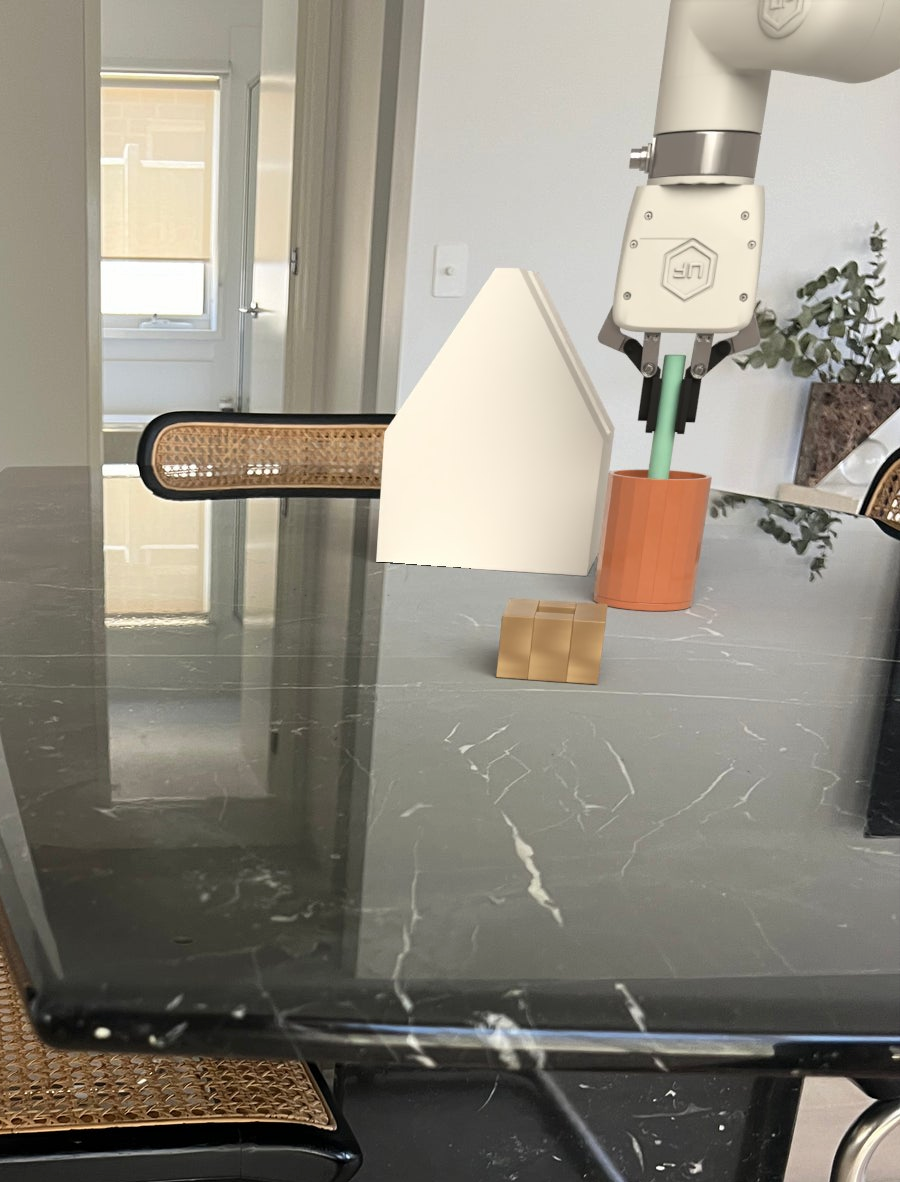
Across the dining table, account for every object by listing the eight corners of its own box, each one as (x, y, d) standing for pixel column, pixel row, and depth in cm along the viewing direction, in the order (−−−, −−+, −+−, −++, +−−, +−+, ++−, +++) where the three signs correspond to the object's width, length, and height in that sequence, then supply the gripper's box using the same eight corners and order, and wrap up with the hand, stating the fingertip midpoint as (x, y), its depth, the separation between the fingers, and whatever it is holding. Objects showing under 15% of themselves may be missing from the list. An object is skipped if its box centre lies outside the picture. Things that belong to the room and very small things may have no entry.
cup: (690, 596, 122) (709, 471, 118) (693, 613, 116) (713, 481, 111) (594, 591, 124) (609, 467, 120) (591, 607, 117) (608, 477, 113)
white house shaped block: (376, 562, 137) (395, 267, 127) (406, 540, 150) (426, 271, 140) (586, 575, 131) (624, 268, 121) (599, 551, 145) (634, 272, 135)
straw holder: (599, 663, 99) (607, 603, 97) (597, 684, 93) (605, 621, 92) (503, 657, 100) (509, 598, 99) (495, 677, 95) (502, 615, 93)
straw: (658, 541, 119) (685, 354, 113) (659, 544, 117) (686, 355, 111) (638, 540, 119) (664, 354, 113) (638, 543, 118) (664, 354, 112)
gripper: (590, 162, 106) (559, 432, 113) (822, 160, 102) (774, 440, 109) (593, 170, 112) (564, 425, 120) (811, 169, 108) (766, 432, 116)
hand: (664, 430), depth 115 cm, fingers closed on straw, 1 cm apart
